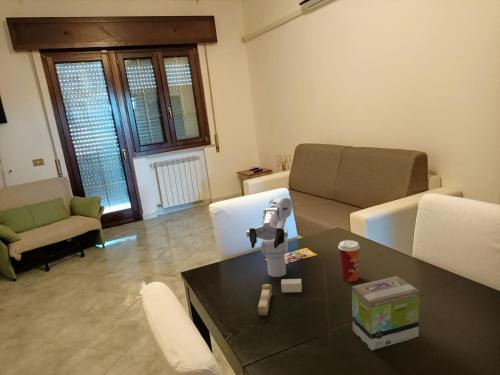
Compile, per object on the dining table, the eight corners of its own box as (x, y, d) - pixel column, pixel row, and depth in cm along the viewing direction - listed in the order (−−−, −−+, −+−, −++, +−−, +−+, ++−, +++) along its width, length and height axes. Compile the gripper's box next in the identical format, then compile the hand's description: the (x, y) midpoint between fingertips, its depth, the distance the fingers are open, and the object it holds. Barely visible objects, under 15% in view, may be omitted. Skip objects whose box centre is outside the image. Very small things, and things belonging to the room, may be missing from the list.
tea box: (372, 352, 97) (370, 302, 93) (352, 331, 106) (349, 285, 103) (420, 338, 100) (420, 289, 97) (396, 318, 110) (395, 273, 106)
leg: (263, 292, 131) (262, 284, 131) (273, 291, 131) (272, 283, 130) (257, 315, 117) (256, 306, 117) (268, 315, 117) (267, 306, 116)
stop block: (282, 288, 133) (281, 279, 132) (301, 287, 132) (301, 278, 131) (281, 292, 130) (281, 283, 129) (301, 292, 129) (300, 283, 128)
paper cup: (356, 285, 131) (354, 248, 128) (336, 280, 136) (334, 245, 133) (364, 276, 137) (363, 241, 134) (345, 272, 142) (343, 238, 139)
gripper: (248, 216, 134) (241, 234, 121) (288, 216, 131) (284, 235, 119) (250, 233, 136) (243, 253, 124) (289, 233, 133) (285, 254, 121)
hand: (263, 245), depth 121 cm, fingers open, 7 cm apart
